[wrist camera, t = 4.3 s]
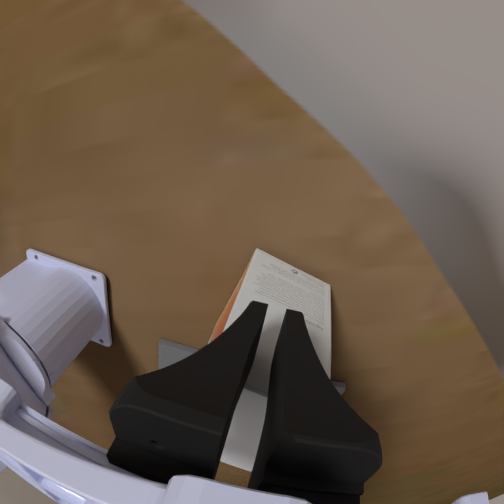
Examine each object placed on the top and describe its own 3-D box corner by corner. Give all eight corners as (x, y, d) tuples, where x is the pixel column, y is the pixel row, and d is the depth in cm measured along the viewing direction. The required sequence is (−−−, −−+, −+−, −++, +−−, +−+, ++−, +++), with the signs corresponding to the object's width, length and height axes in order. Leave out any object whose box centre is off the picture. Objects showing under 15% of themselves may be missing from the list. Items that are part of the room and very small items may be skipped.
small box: (257, 244, 21) (206, 367, 11) (333, 283, 21) (333, 419, 12) (213, 326, 24) (162, 439, 15) (277, 356, 25) (251, 474, 15)
